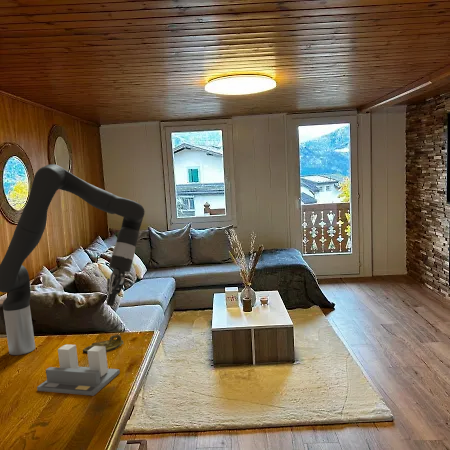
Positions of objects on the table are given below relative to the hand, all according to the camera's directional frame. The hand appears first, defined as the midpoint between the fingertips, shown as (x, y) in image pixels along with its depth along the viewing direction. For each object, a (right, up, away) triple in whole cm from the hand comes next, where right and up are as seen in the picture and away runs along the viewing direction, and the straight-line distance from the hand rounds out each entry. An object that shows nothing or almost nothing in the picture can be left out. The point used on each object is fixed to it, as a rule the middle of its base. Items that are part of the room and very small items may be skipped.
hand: (109, 305), depth 156 cm
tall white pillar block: (0, -20, -12) cm, 23 cm away
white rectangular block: (-11, -20, -9) cm, 24 cm away
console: (-6, -22, -12) cm, 25 cm away
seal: (-6, -19, +14) cm, 24 cm away
